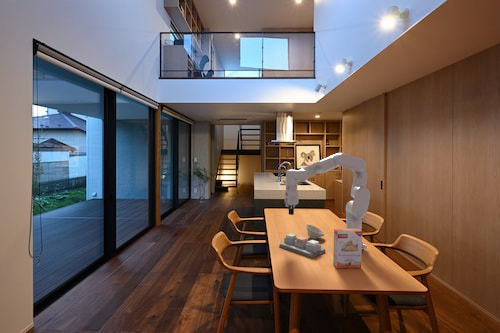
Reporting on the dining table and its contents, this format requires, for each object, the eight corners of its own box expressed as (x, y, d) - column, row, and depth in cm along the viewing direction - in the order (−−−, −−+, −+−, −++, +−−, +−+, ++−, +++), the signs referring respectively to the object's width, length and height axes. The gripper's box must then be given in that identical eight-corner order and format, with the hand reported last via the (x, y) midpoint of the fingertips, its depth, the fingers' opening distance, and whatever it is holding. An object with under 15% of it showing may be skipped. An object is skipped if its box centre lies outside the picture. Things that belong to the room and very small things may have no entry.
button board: (325, 252, 165) (325, 243, 164) (311, 258, 155) (311, 249, 155) (293, 241, 184) (293, 234, 184) (279, 246, 174) (279, 238, 174)
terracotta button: (307, 242, 169) (307, 238, 169) (302, 244, 166) (302, 239, 166) (301, 240, 173) (301, 236, 173) (296, 242, 170) (296, 238, 169)
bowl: (325, 242, 182) (325, 228, 182) (305, 241, 185) (305, 227, 185) (323, 236, 197) (323, 223, 197) (305, 234, 200) (305, 222, 199)
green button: (296, 239, 176) (296, 235, 176) (291, 240, 173) (291, 236, 172) (290, 237, 180) (290, 233, 179) (286, 239, 176) (286, 234, 176)
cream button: (318, 246, 162) (318, 241, 162) (314, 248, 159) (314, 243, 159) (312, 244, 166) (312, 239, 166) (307, 246, 163) (307, 241, 163)
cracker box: (337, 269, 140) (337, 231, 139) (332, 264, 146) (333, 228, 145) (361, 268, 141) (362, 231, 140) (356, 263, 147) (357, 227, 146)
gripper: (288, 189, 167) (288, 217, 168) (302, 187, 177) (302, 213, 177) (279, 188, 172) (279, 215, 173) (294, 186, 182) (293, 211, 183)
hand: (291, 214), depth 175 cm, fingers closed
